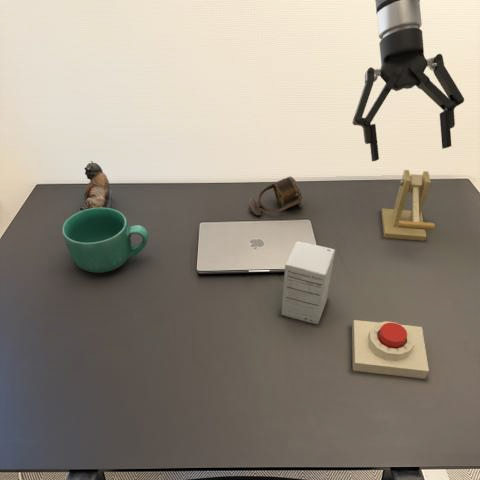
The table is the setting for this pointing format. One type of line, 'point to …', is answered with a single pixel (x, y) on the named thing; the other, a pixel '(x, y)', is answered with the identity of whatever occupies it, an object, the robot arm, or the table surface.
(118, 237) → the mug
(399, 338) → the button
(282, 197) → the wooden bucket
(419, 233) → the wooden lever device
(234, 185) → the table surface
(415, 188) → the lever
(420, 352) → the button base
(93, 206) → the brown figurine
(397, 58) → the robot arm
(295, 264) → the white packaging box
